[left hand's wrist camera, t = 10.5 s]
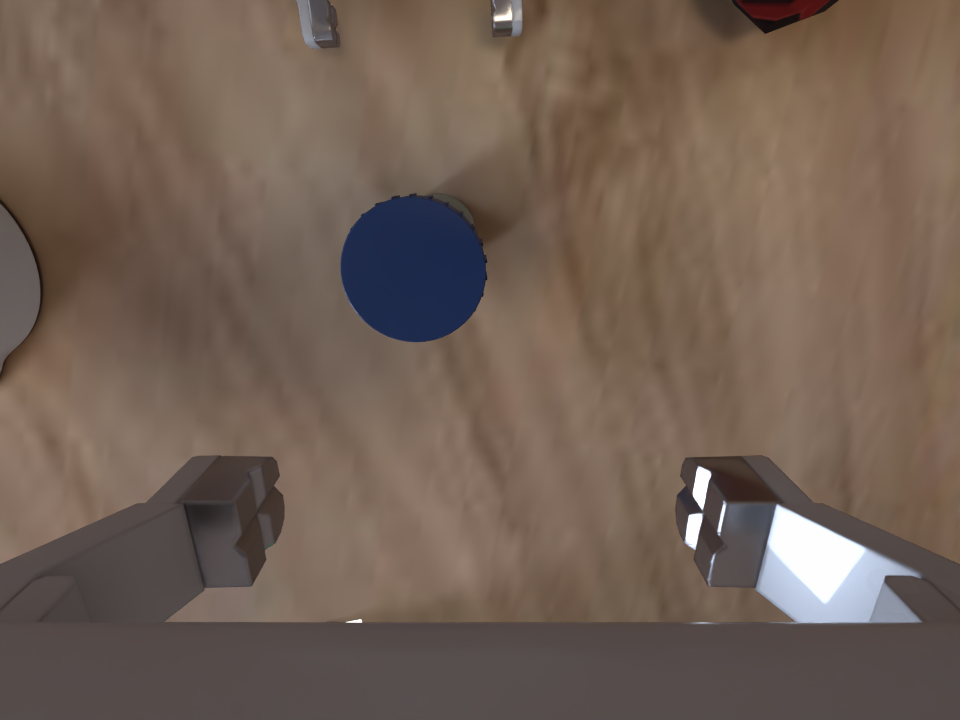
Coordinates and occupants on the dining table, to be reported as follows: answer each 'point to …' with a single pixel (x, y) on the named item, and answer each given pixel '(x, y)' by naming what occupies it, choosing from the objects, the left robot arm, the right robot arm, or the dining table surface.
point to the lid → (414, 268)
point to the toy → (780, 11)
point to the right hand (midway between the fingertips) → (415, 40)
